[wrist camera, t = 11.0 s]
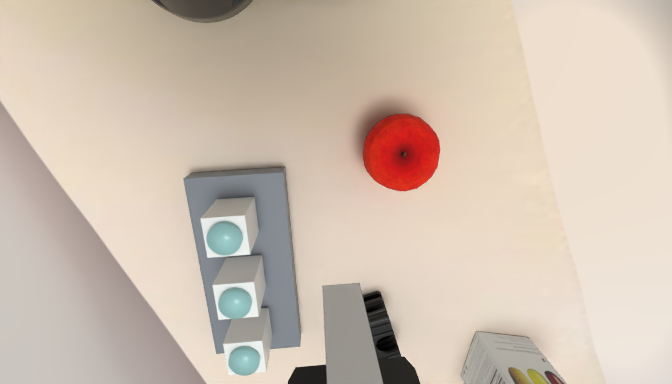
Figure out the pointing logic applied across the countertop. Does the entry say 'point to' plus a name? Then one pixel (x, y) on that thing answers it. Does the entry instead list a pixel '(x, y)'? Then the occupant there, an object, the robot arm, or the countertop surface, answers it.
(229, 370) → the button far
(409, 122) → the apple
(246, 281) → the button mid
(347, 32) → the countertop surface
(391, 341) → the end cap
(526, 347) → the supplement box
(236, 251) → the button near
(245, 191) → the mount
